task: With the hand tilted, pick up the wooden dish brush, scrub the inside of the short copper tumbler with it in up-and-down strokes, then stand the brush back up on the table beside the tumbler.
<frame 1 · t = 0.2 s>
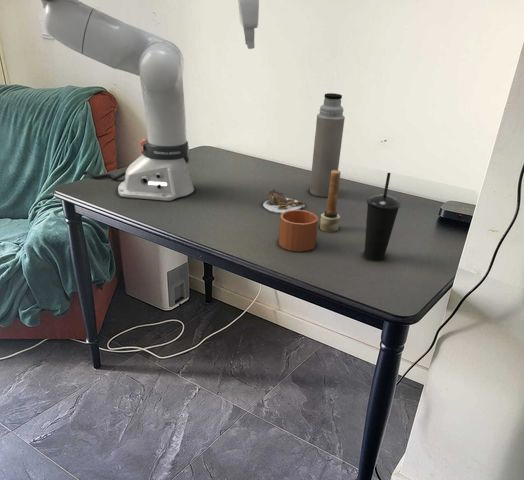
hand: (249, 46, 136), 39 cm above the table, tool pointing down, fingers open, 8 cm apart
tumbler: (296, 243, 130), on the table
drinking cup: (373, 256, 126), on the table
brush: (329, 228, 138), on the table
frog figurine: (282, 206, 150), on the table
thermos bottle: (322, 193, 161), on the table
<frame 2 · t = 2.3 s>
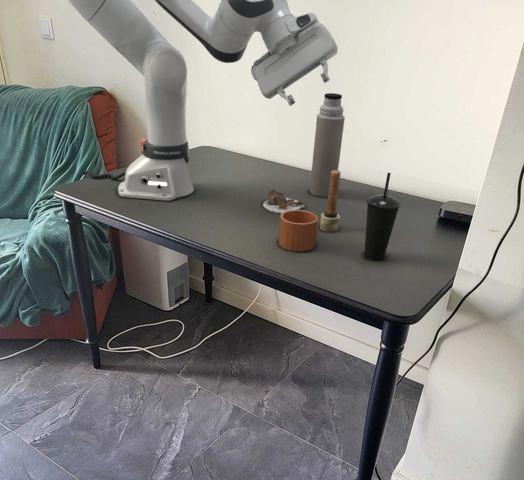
hand: (309, 92, 123), 32 cm above the table, tool tilted 45°, fingers open, 8 cm apart
nothing on the table moved.
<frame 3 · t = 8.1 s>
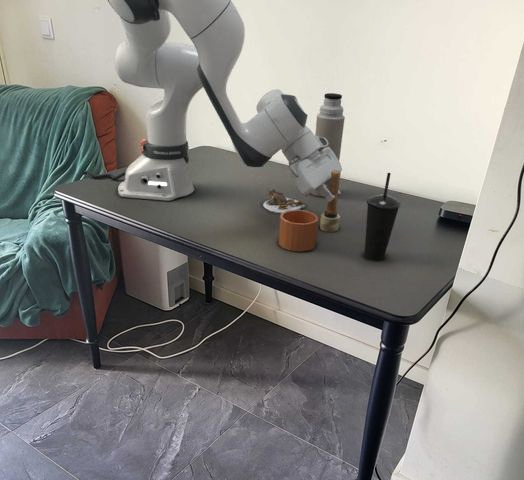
hand: (335, 197, 133), 8 cm above the table, tool tilted 45°, fingers closed on brush, 2 cm apart
brush: (329, 228, 138), on the table, touching gripper
everything else where it was.
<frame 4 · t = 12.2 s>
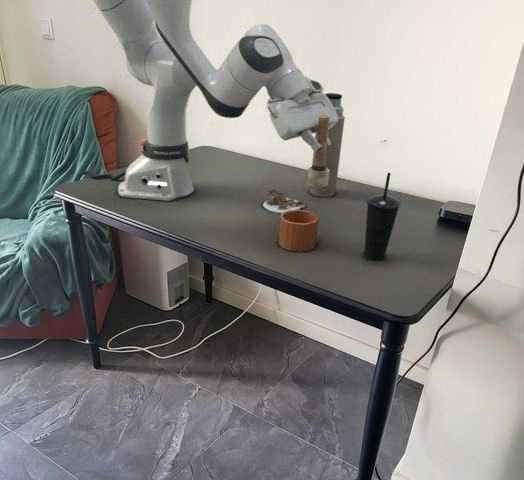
hand: (323, 148, 119), 23 cm above the table, tool tilted 45°, fingers closed on brush, 2 cm apart
brush: (317, 184, 124), point 14 cm above the table, touching gripper
everything else where it was.
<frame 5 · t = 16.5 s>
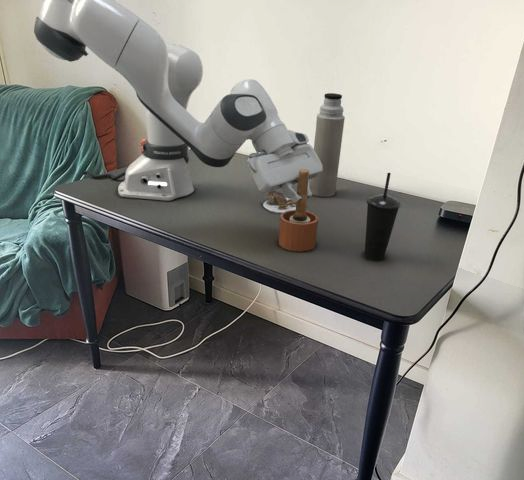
hand: (303, 199, 122), 12 cm above the table, tool tilted 45°, fingers closed on brush, 2 cm apart
brush: (298, 231, 128), point 3 cm above the table, touching gripper
everything else where it was.
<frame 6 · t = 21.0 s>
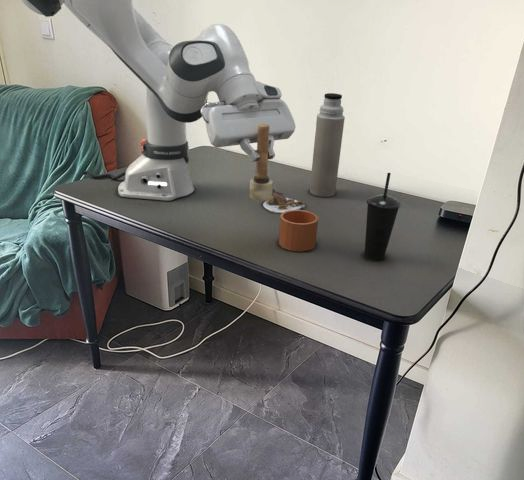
hand: (263, 159, 110), 22 cm above the table, tool tilted 45°, fingers closed on brush, 2 cm apart
brush: (260, 196, 115), point 14 cm above the table, touching gripper
everything else where it was.
when the fingers open (8 cm above the table, at t = 24.9 s): brush stays where it is, on the table.
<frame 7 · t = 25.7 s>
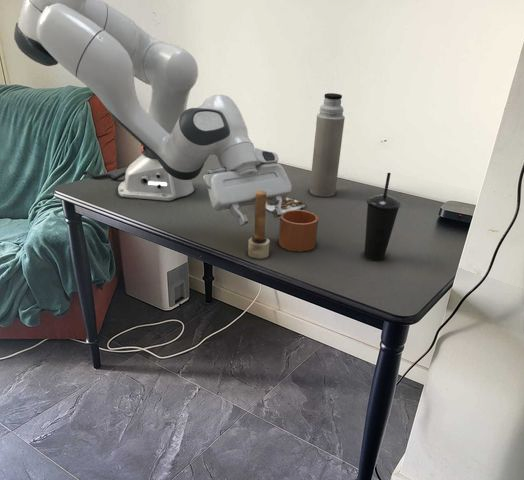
hand: (262, 220, 118), 9 cm above the table, tool tilted 45°, fingers open, 8 cm apart
brush: (258, 254, 124), on the table
everything else where it was.
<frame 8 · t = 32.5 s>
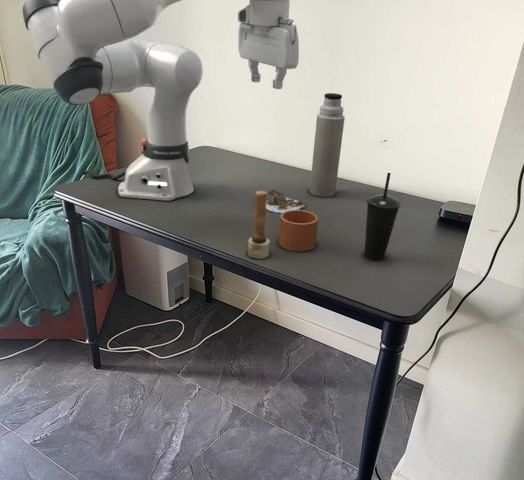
hand: (266, 85, 122), 33 cm above the table, tool pointing down, fingers open, 8 cm apart
nothing on the table moved.
at the end: brush inside the target area (0.2 cm from its centre), on the table; brush tilted 0°; the gripper is holding nothing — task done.
